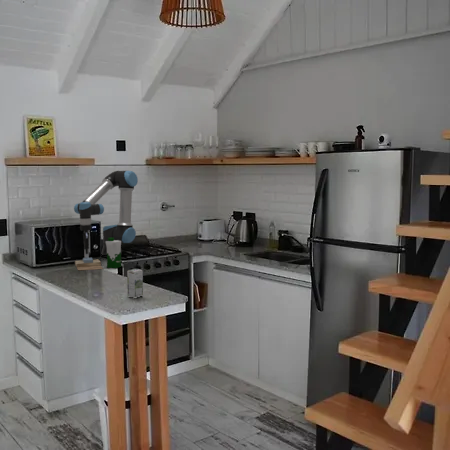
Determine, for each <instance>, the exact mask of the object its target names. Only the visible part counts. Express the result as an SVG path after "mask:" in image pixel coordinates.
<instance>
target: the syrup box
mask: <svg viewBox="0 0 450 450" xmlns="http://www.w3.org/2000/svg"><path fill="white" fill-rule="evenodd" d="M126 272H127V273H126V274H127V279H126V280H127V297H128V296H130V297H138V296H141V295H143V296H144V292H143V291H144V283H143V282H144V281H143V280H144V277H143V275H144V272H143V270H142V269H139V268H133V269H129V270H127V271H126Z"/></svg>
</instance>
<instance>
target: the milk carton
mask: <svg viewBox="0 0 450 450" xmlns="http://www.w3.org/2000/svg"><path fill="white" fill-rule="evenodd" d="M121 245H122V242H121V241H119V240H114V238H108V241H106V247H107V256H106V260H107V261H106V268H107V269H119V268H122V248H121V247H122V246H121Z"/></svg>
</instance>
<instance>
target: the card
mask: <svg viewBox="0 0 450 450" xmlns="http://www.w3.org/2000/svg"><path fill="white" fill-rule="evenodd" d="M82 260H83V262H84V263H93V260H94V259H93V257H89V258H85V257H83V258H82Z"/></svg>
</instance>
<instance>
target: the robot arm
mask: <svg viewBox="0 0 450 450" xmlns="http://www.w3.org/2000/svg"><path fill="white" fill-rule="evenodd" d="M138 181H139V179H138V175H137V174H136V172H134V171H133V170H115V171H113V172H111V173H109V174H108V175H107V176H105V177H104V178H103V179H102V181H101V183H100V184H99V185H98V186H97V187H96V188H95V189H94V190H93V191H92V192H91V193H90V194H89V195H87V197H85V198H84V199H83V200H82V201H81V202H78V203H76V204H74V206H73V210H74V213H75V214H77V215H79V219H78V222H79V224H80V225H79V230H80V231H83V232H82V239H83V250H84V258H90V257H89V255H90V254H89V253H90V251H89V250H90V247H89V245H90V241H89V240H90V232H89V231H91V230H92V216H96V215H97V216H98V215H102V214H103V213H104V212H105V207H104V205H103V204H102V203H98V202H99V201H100V200H101V199H102V197H104V196H105V195H106V194H107V193H108V192H109V191H110V190H112V189H114V188H115V187H117V188H118V190H119V191H120V192H119V193H120V194H119V219H118V221H119V222H118V223H117V224H111V225H105V226H103V227H102V242H103V243H102V244H103V247H102V249H101V253H100V254H102V255H107V247H106V241H108V238H114V240H119V241H121V244H122V243H123V244H130V243H133V241H134V240H135V238H136V236H137V235H136V234H137V232H136V230H135V228H134V227H133V224H132V219H131V218H132V202H133V201H132V199H133V190H135V187H136V186H137V185H138ZM102 255H101V256H102Z"/></svg>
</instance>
